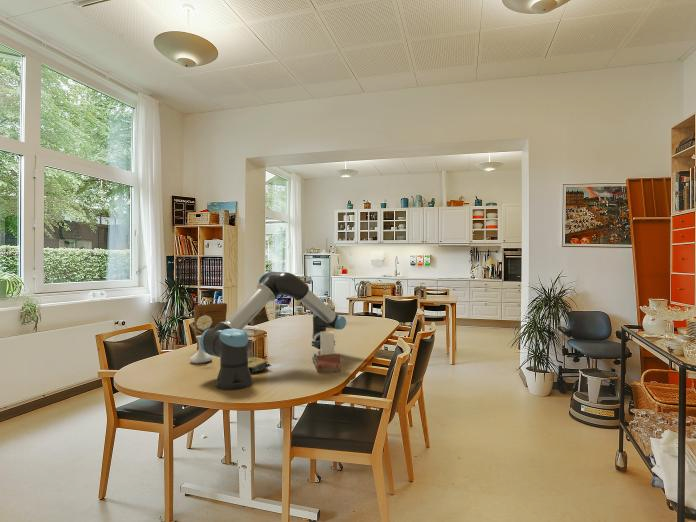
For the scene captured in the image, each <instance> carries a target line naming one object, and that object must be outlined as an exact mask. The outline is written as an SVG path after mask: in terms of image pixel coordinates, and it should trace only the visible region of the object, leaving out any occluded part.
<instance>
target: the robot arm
mask: <svg viewBox="0 0 696 522" xmlns="http://www.w3.org/2000/svg"><path fill="white" fill-rule="evenodd" d="M279 296H288V297H290V298H292V299H294V300H295V301H299V302H300V303H302V304H303V305H304V306H305V307H306V308H308V309H309V311H311V312H312V336H311V337H312V340H313V341H311V347H314V348H316V349H317V350H320V332H322V331H327V329H332V330H333V329H334V330H343V329H345V327H346V326H347V319H346V318H345V316H343V315H338V314H337V313H336V312H335V311H333V310H332V309H331V308H330V307H329V306H328V305H327V304H326V303H325V302H323V301H322V300H321V298H319V297H318V296H317V295H316V294H315V293H314V292H313V291H312V290H310V287H309V285H308V284H307V283H306V282H305V281H303V280H302V279H301V278H300V277H298V276H296V274H293V273H290V272H282V271H267V272H264V273H263V274H262V275H260V277H259V279H258V284H257V285H256V290H255V291H254V292H253V293H252V294H251V295H250V296H249V297H248V298H247V299H246V300H245V301H244V302H243V303H242V304H241V305H240V306H239V307H238V308H237V309H236V310H235V311H234V312H233V313H232V314H231V315H230V316H229V317H228V318H226V321H225V322H219V323H218V324H217V325H216V326H215V327H214V328H210V329H207V330H206V331H204V333H203V334H202V336H201V338H200V346H201V348H202V350H203V351H204V352H205V353H207V354H209V355H211V356H212V357H213V356H215V357H218V358H220V360H219V361H220V362H219V363H220V364H219V365H220V367H219V371H218V374H217V378H216V382H215V384H216V388H218V389H221V390H239V389H243V388H244V389H245V388H247V387H249V386H251V385H252V384H253V376H252V373H250V370H249V367H248V356H249V336H248V333H247V332H246V331H245V330H243V329H244V328H246V326H247V325H248V324H249V323H250V322H251V321H252V320H253V319H254V318H255V317H256V316H257V315H258V314H259V312H261V311H262V309H264V307H265V306H266V305H268V303H269V302H274V301H275V300H277V298H278V297H279ZM334 346H336V340H335V339H334Z"/></svg>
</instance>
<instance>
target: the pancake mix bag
mask: <svg viewBox="0 0 696 522" xmlns="http://www.w3.org/2000/svg"><path fill="white" fill-rule="evenodd" d="M195 305H196V304H195ZM227 312H228V304H227V303H225V302H220V303H219V302H217V303H210V304H197V305H196V306H194V307H193V320H194V323H193V325H194V330H195V339H196V345H197V347H196V352H197V351H198V349H199V343H198V339H197V338H196V336H200V335H202V334H203V333H204V331H206V330H207V329H210V328H214V327H215V326H216V325H217V324H218V323H219V322H225V321H226V320H227V314H228V313H227ZM205 315H206V316H209V317H210V318H211V319H212V324H211V325H210V327H209V328H206V330H202V329H199V328H197V327H198V326H197V324H196V322H197V320H198V319H199V318H201V317H202V316H205ZM196 330H197V331H196ZM198 331H199V332H198ZM200 332H201V333H200Z"/></svg>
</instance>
